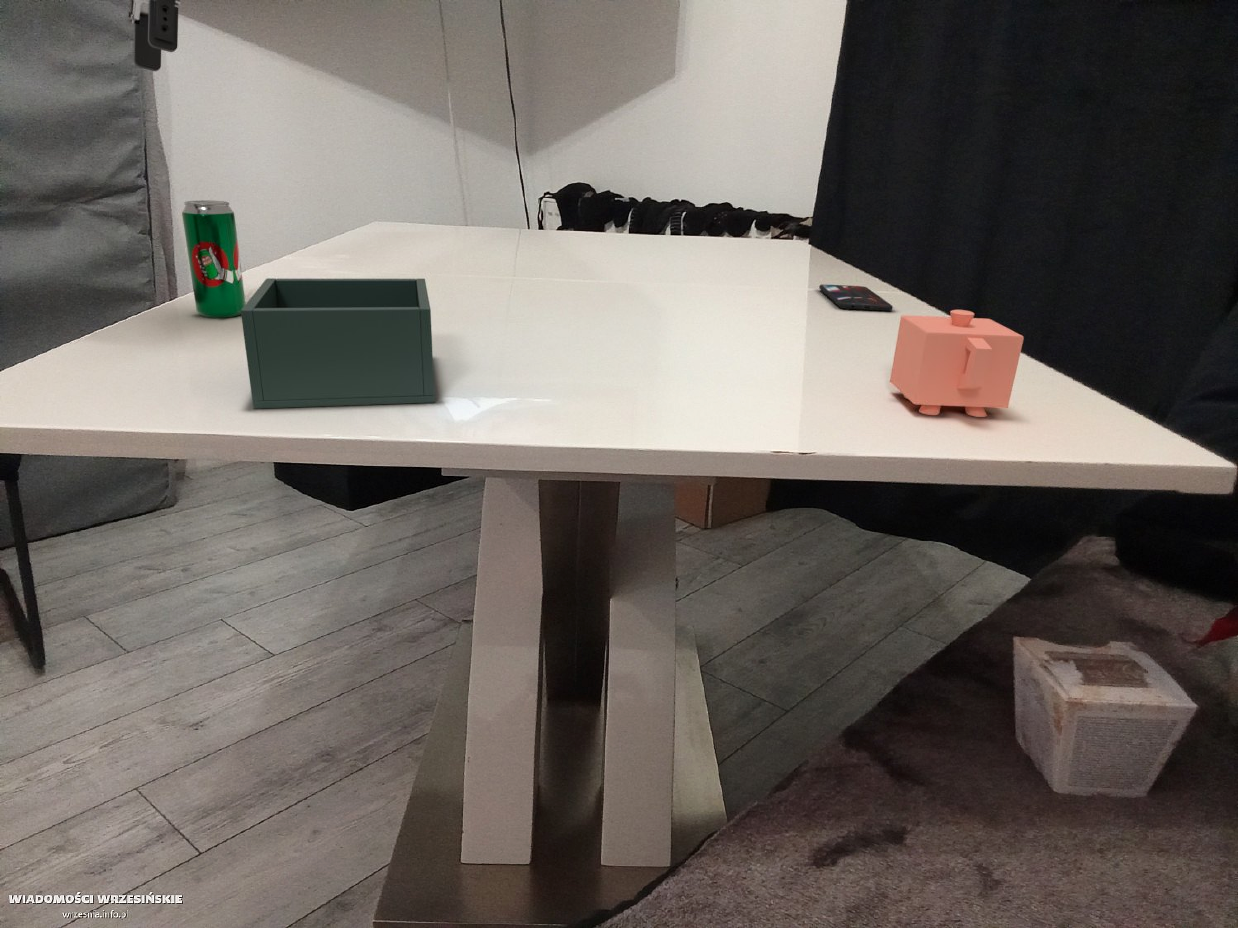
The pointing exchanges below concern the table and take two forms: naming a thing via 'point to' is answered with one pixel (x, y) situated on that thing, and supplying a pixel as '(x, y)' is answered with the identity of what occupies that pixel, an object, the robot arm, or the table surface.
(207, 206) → the soda can
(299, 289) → the bin
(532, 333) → the table surface
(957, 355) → the pink cube teapot
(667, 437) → the table surface
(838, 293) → the smartphone
